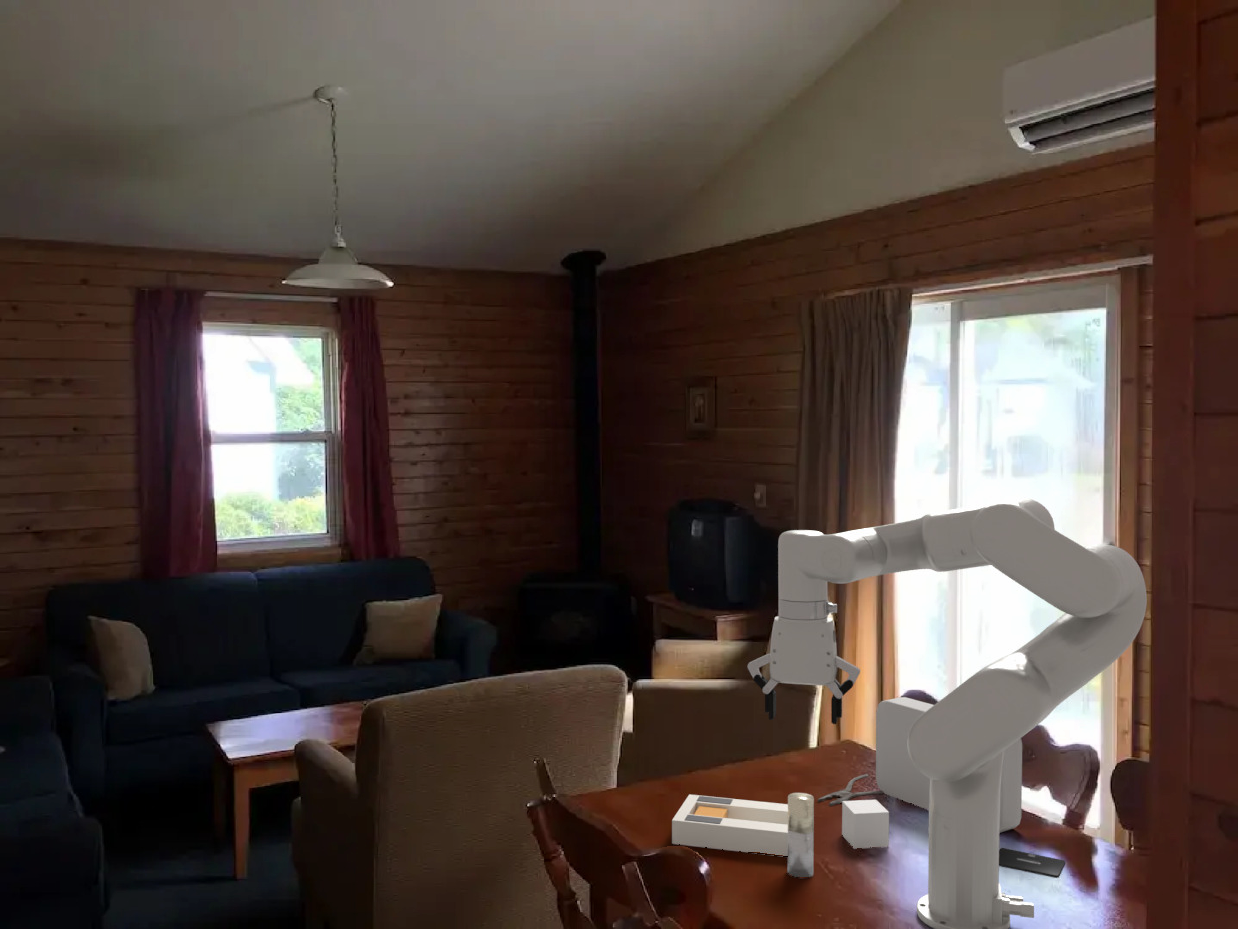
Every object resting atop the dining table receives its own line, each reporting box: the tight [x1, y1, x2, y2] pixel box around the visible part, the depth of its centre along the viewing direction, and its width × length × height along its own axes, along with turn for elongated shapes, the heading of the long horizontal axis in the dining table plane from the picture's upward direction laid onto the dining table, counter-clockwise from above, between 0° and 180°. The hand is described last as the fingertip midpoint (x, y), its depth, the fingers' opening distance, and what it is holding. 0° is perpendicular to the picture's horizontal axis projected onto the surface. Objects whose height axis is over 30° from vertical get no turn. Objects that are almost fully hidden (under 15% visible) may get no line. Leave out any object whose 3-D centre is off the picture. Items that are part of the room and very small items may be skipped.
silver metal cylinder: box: [787, 792, 815, 878], centre depth 164 cm, size 4×4×12 cm
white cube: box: [841, 799, 890, 850], centre depth 177 cm, size 6×6×6 cm
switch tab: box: [694, 806, 728, 818], centre depth 181 cm, size 5×5×2 cm
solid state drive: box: [999, 847, 1066, 878], centre depth 168 cm, size 7×10×1 cm
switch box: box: [671, 793, 788, 857], centre depth 179 cm, size 22×13×4 cm, turn 73°
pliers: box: [817, 773, 884, 807], centre depth 201 cm, size 10×1×20 cm
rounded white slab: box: [875, 696, 1023, 834], centre depth 192 cm, size 29×8×18 cm, turn 33°
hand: (803, 719), depth 163 cm, fingers open, 9 cm apart
